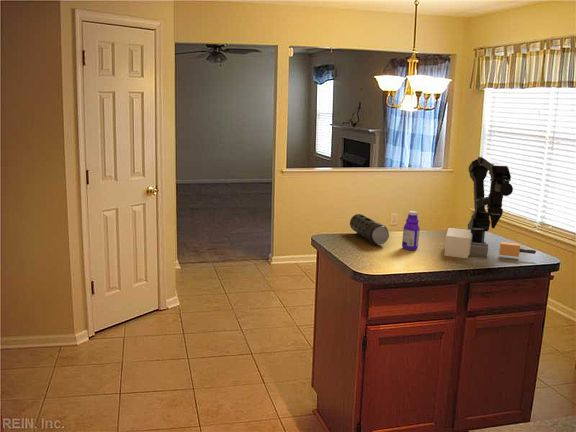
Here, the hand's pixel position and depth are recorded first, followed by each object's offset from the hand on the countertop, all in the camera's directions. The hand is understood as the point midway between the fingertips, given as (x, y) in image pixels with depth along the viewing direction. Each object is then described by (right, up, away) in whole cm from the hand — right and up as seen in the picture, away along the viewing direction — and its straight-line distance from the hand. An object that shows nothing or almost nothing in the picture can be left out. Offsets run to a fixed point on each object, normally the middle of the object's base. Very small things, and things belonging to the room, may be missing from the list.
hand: (492, 226), depth 267 cm
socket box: (-13, -12, -2) cm, 18 cm away
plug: (+8, -13, -8) cm, 17 cm away
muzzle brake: (-54, -7, +16) cm, 57 cm away
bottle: (-37, -11, +2) cm, 39 cm away
